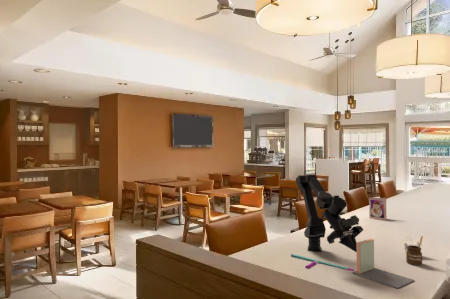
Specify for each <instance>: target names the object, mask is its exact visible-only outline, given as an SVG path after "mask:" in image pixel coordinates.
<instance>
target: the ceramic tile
mask: <svg viewBox="0 0 450 299" xmlns="http://www.w3.org/2000/svg"><path fill="white" fill-rule="evenodd" d="M356 249H357V252H356V271H357V273H359V274H361V273H364V272H366V271H369V270H372V269H374V268H375V240H374V239H373V238H369V239H364V240H362V241H358V242H357V241H356Z"/></svg>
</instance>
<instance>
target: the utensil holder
mask: <svg viewBox="0 0 450 299" xmlns="http://www.w3.org/2000/svg"><path fill="white" fill-rule="evenodd" d="M409 238H410V239H409ZM423 238H424V237H423V235H421V237H420V239H419V241H420V244H422V242H423ZM409 240H412V238H411V237H410V236H409V237H407V239H406V242H409ZM411 242H412V243H413V242H414V241H411ZM407 244H408V243H407ZM420 244H419V247H418V246H412V245H411V244H410V246H409V245H408V246H407V249H408V250H407V252H405V255H406V256H405V258H406V263H408V264H409V265H412V266H421V265H422V264H423V253H422V249H421V248H420Z"/></svg>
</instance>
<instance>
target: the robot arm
mask: <svg viewBox="0 0 450 299" xmlns="http://www.w3.org/2000/svg"><path fill="white" fill-rule="evenodd" d="M295 184H296V185H297V188H298V190H299V191H301V193H302V196H303V201H304V205H305V210H306V214H307V218H308V220H307V222H306V228H305V230H304V232H303V233H304V237H305V238H307V239H308V246H307V251H311V252H322V246H321V238H325V235H326V226H325V223H324V219H325V220H326V221H327V223H328V224H329V225H330V226H329V228H330V229H331V230H333V231H331V233H330V234H329V235H328V236H327V237H326V241H327V242H328V244H329V245H331V244H334V243H335V240H336V239H339V241H338V244H341V245H343V246H345V247H346V248H349V249H350V250H352V251H354V252H355V253H357V249H356V243H357V240H356V237H357V236H359V235H360V234H361V233H362V232H363V231H364V228H363V226H361V225H360V224H359V223H360V218H359V217H358V216H357V215H355V214H354V215H351V216H350V218H347V219H346V218H342V217H341V214H342V212H343V211H344V210H345V209H346V207H347V202H346V201H345V200H344V199H343V198H342V197H340V196H339V195H334V196H333V195H332V194H331V193H329V192H327V191H326V190H325V188H324V187H323V185H322V184H321V182H320V181H319V179H318V176H317V174H312V173H311V174H304V175H302V174H301V175H298V176H297V177H296V178H295ZM314 195H315V198H316V200H315V198H314ZM315 202H316V203H315ZM316 205H317V207H318V209H320V210H324V211H322V212H321V217H319V215H318V210H317V207H316Z"/></svg>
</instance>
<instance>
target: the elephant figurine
mask: <svg viewBox="0 0 450 299" xmlns="http://www.w3.org/2000/svg"><path fill="white" fill-rule="evenodd" d="M412 242H413V243H412ZM407 243H408V244H407ZM410 244H411V245H412V246H418V247H419V244H420V240H418V241H416V242H415V241H405V240H403V249H404V252H405V253H406V252H407V250H408V249H407V246H408V245H409V246H410ZM423 247H424V246H423V244H422V243H421V244H420V248H421V250H422V249H423Z"/></svg>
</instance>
